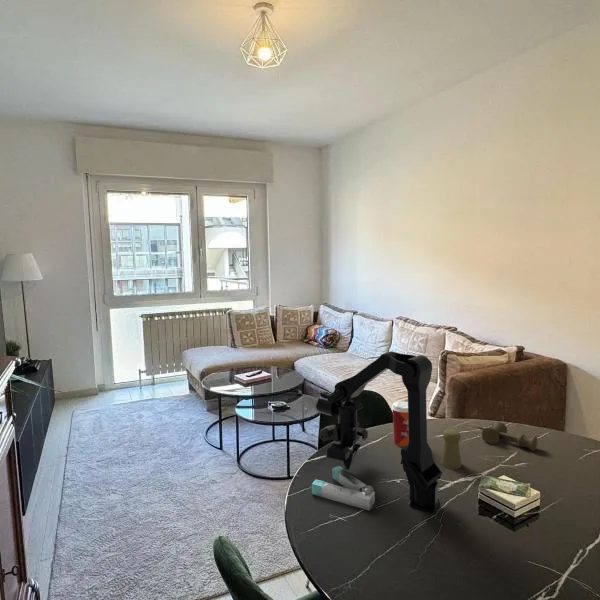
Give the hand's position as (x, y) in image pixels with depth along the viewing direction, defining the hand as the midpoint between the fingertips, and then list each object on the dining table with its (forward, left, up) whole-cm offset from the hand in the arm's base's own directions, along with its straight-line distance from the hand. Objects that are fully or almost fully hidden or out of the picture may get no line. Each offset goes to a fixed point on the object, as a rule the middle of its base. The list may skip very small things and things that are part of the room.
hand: (347, 469), depth 137 cm
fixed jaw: (-4, +13, -1) cm, 14 cm away
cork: (-27, -20, -1) cm, 33 cm away
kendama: (-40, -45, -1) cm, 60 cm away
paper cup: (-9, -28, -1) cm, 29 cm away
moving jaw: (-4, +8, -1) cm, 8 cm away
